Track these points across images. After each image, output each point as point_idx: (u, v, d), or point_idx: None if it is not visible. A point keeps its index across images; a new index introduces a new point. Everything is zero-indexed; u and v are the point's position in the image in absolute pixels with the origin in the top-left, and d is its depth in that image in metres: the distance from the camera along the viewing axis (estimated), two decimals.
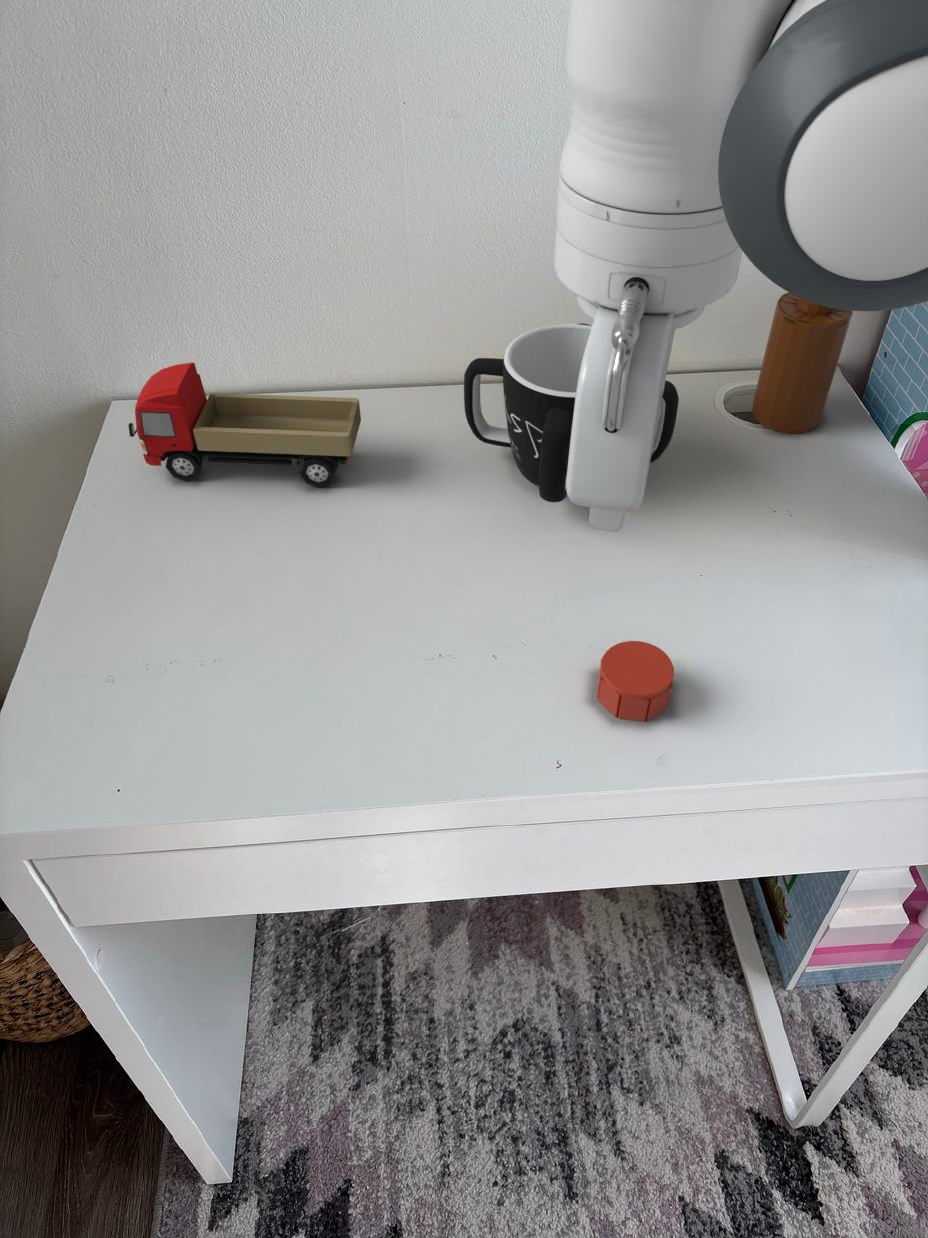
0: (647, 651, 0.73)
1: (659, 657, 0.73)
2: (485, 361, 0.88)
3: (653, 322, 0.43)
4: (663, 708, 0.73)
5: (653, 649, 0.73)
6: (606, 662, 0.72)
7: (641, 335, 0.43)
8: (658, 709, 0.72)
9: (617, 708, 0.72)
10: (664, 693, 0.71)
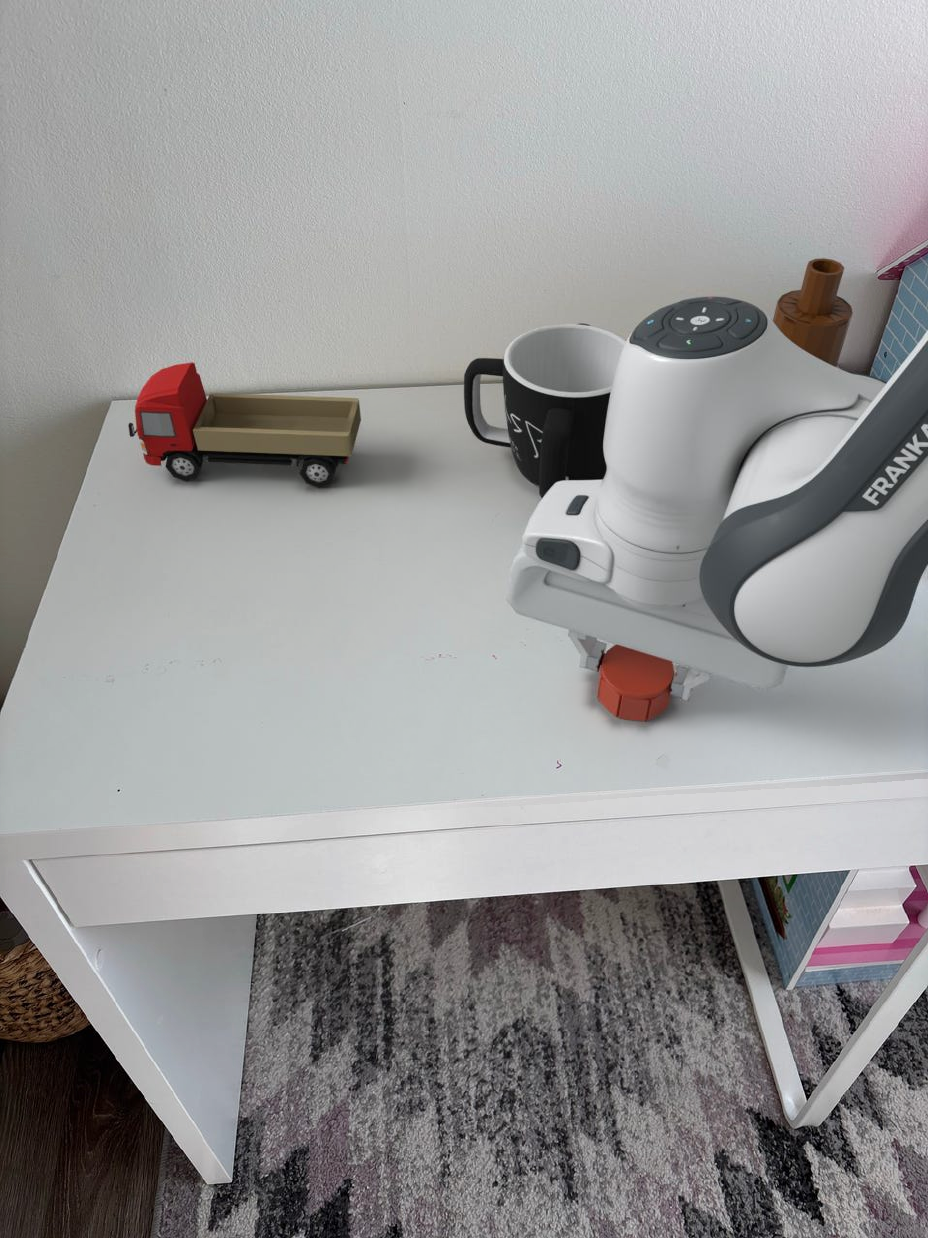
0: None
1: None
2: (485, 361, 0.88)
3: None
4: (663, 708, 0.73)
5: None
6: (606, 662, 0.72)
7: None
8: (658, 709, 0.72)
9: (617, 708, 0.72)
10: (664, 693, 0.71)
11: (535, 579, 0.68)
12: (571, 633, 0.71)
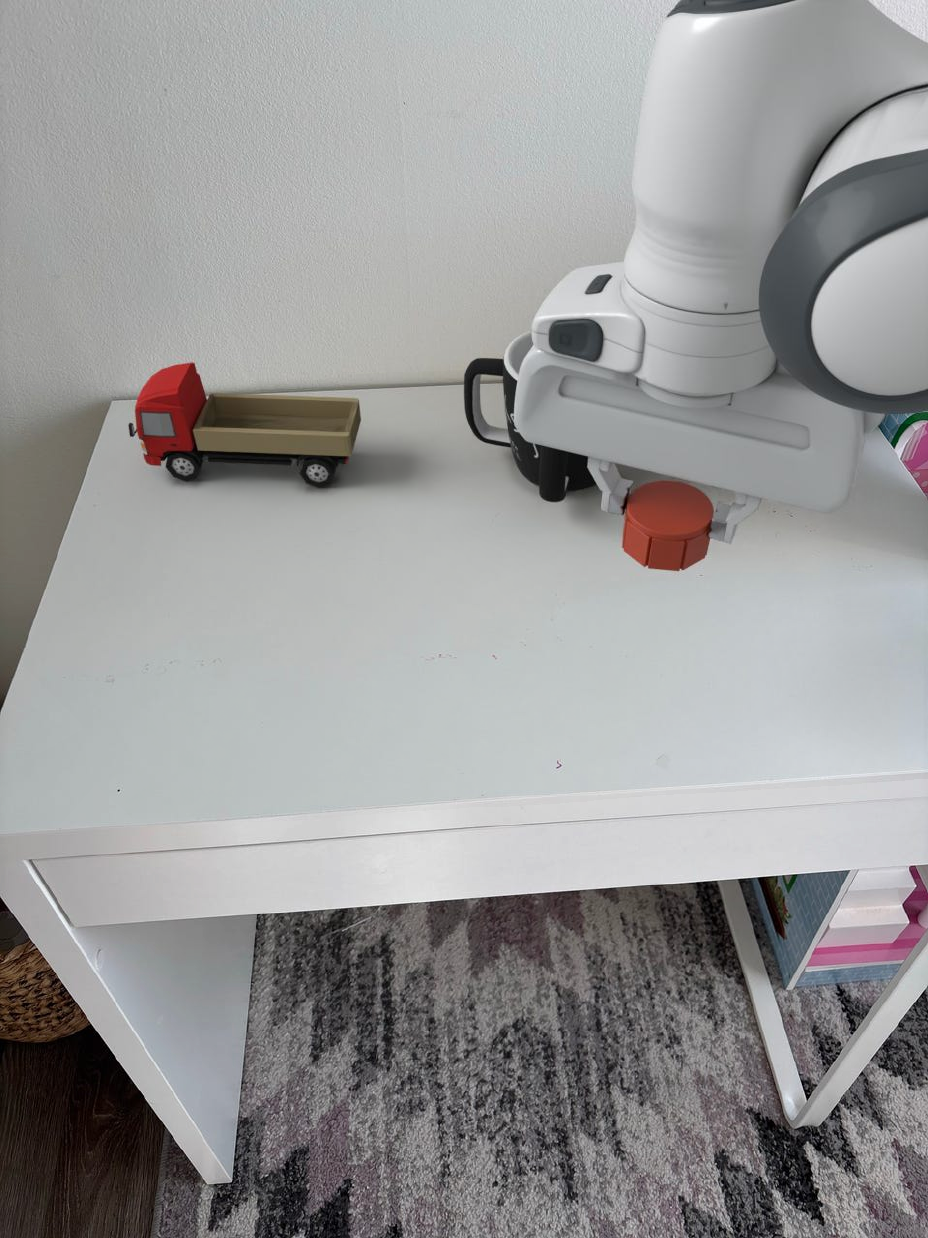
0: (681, 490, 0.62)
1: (696, 496, 0.61)
2: (485, 361, 0.88)
3: None
4: (701, 556, 0.61)
5: (688, 488, 0.62)
6: (633, 502, 0.61)
7: None
8: (695, 556, 0.61)
9: (647, 555, 0.61)
10: (703, 535, 0.60)
11: (547, 388, 0.56)
12: (590, 464, 0.60)
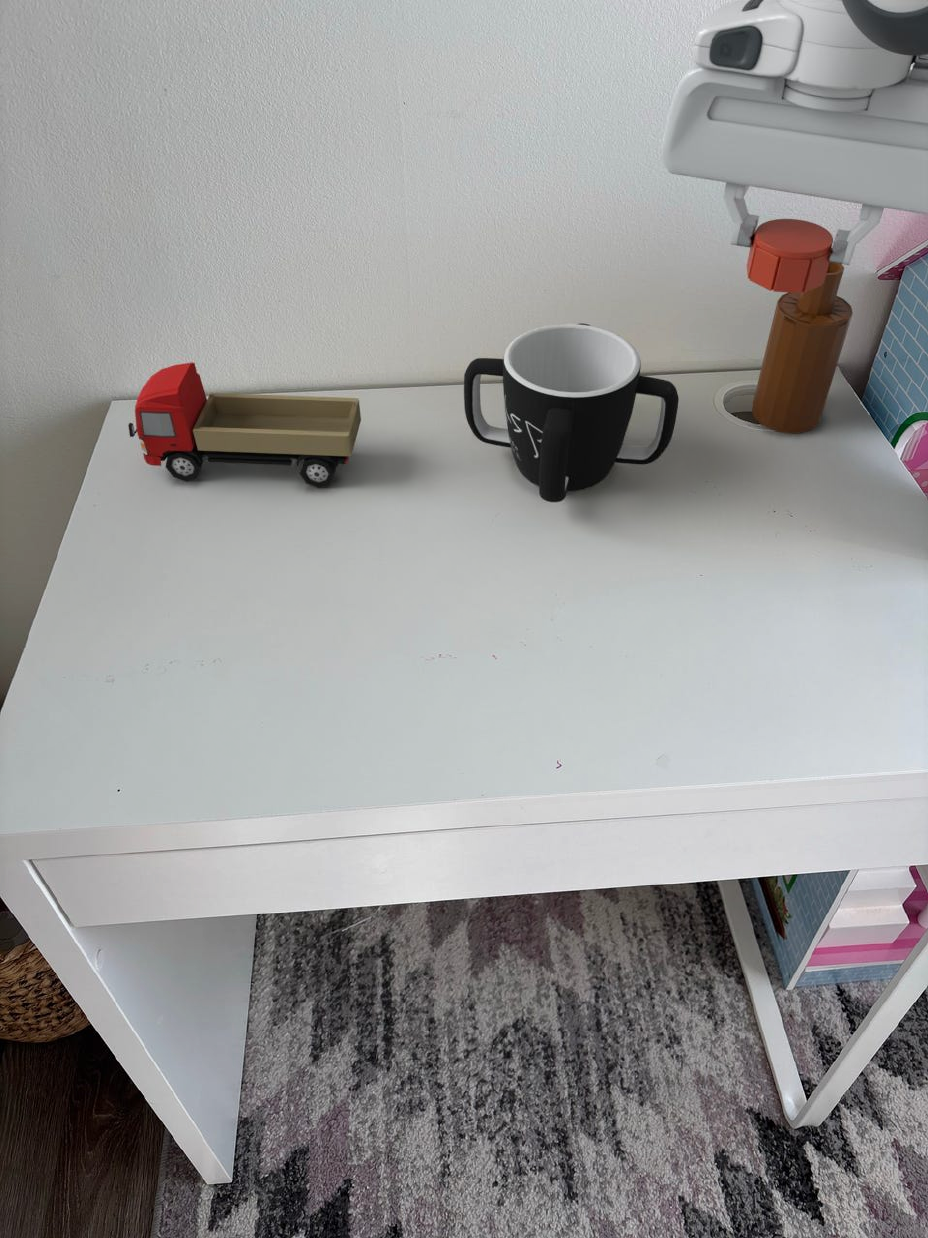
0: (802, 225, 0.70)
1: (815, 228, 0.69)
2: (485, 361, 0.88)
3: None
4: (820, 282, 0.69)
5: (807, 223, 0.70)
6: (761, 232, 0.69)
7: None
8: (816, 280, 0.69)
9: (774, 277, 0.69)
10: (824, 256, 0.68)
11: (698, 112, 0.64)
12: (727, 193, 0.68)
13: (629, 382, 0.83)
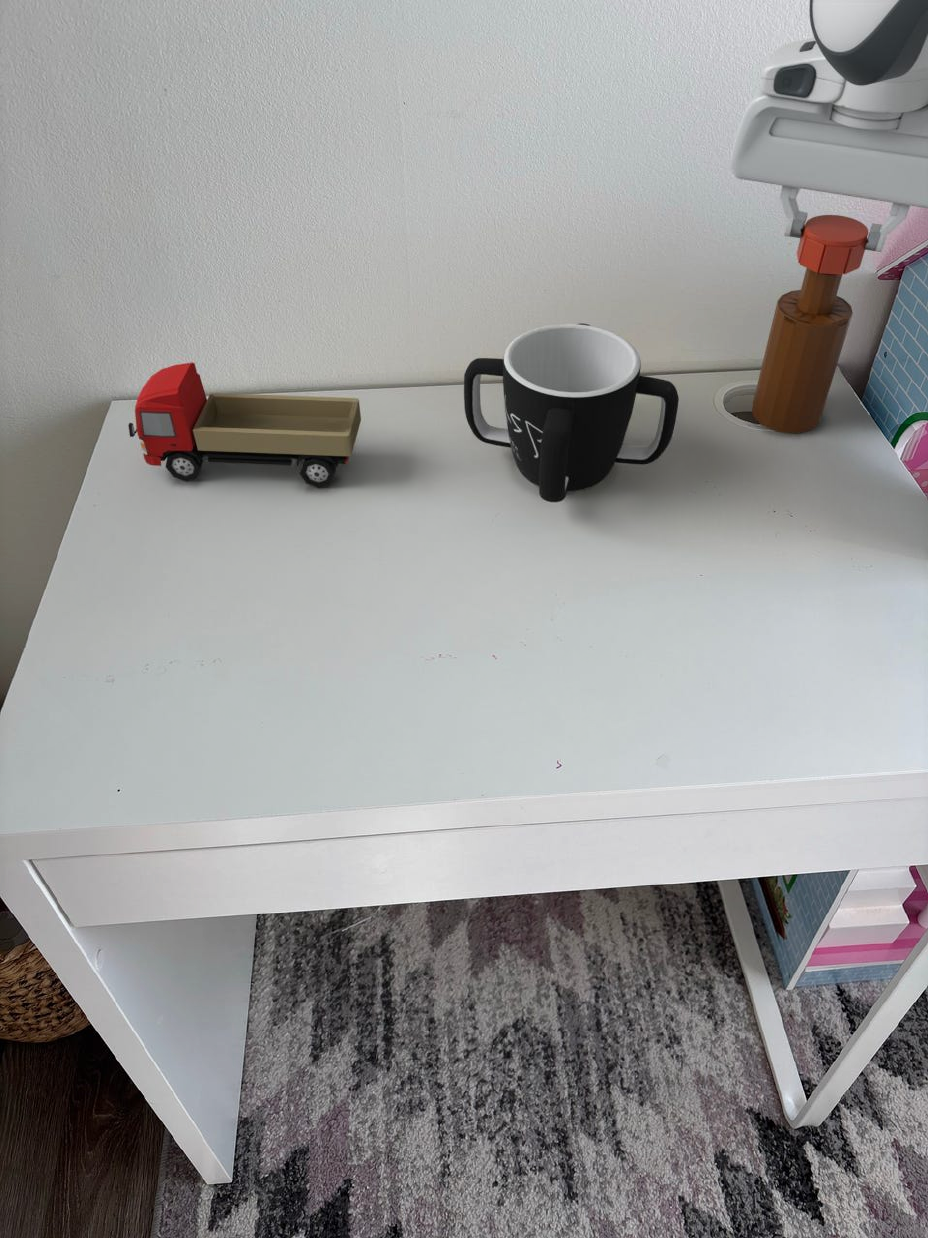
0: (842, 219, 0.86)
1: (853, 222, 0.86)
2: (485, 361, 0.88)
3: None
4: (857, 265, 0.86)
5: (847, 218, 0.86)
6: (809, 225, 0.86)
7: None
8: (854, 264, 0.85)
9: (820, 261, 0.85)
10: (861, 245, 0.84)
11: (762, 129, 0.81)
12: (782, 194, 0.84)
13: (629, 382, 0.83)
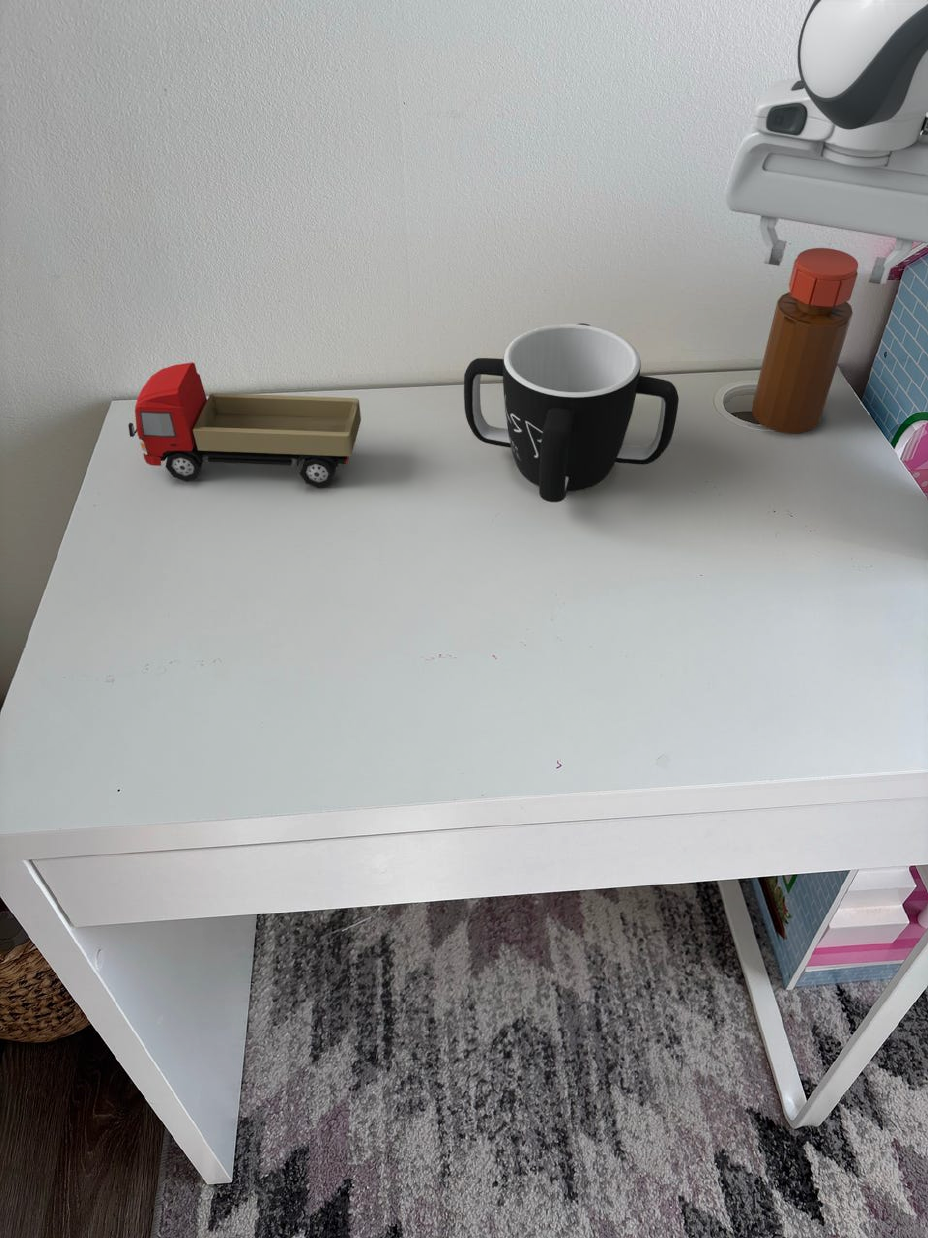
0: (833, 253, 0.89)
1: (844, 256, 0.88)
2: (485, 361, 0.88)
3: None
4: (847, 298, 0.88)
5: (837, 252, 0.89)
6: (801, 258, 0.88)
7: None
8: (844, 296, 0.88)
9: (811, 294, 0.87)
10: (851, 278, 0.87)
11: (755, 164, 0.83)
12: (761, 223, 0.87)
13: (629, 382, 0.83)
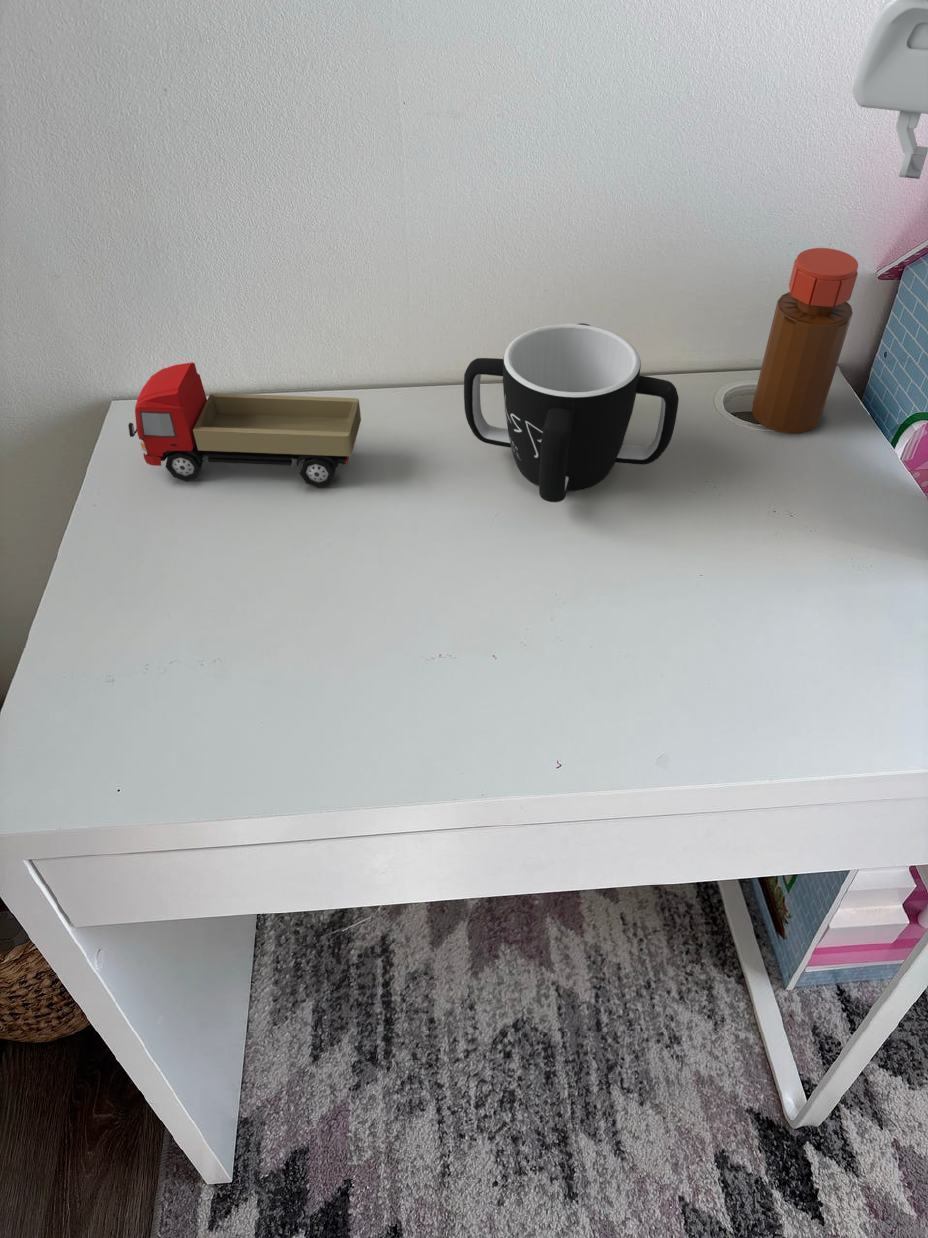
0: (833, 253, 0.89)
1: (844, 256, 0.88)
2: (485, 361, 0.88)
3: None
4: (847, 298, 0.88)
5: (837, 252, 0.89)
6: (801, 258, 0.88)
7: None
8: (844, 296, 0.88)
9: (811, 294, 0.87)
10: (851, 278, 0.87)
11: (897, 40, 0.64)
12: (899, 123, 0.68)
13: (629, 382, 0.83)
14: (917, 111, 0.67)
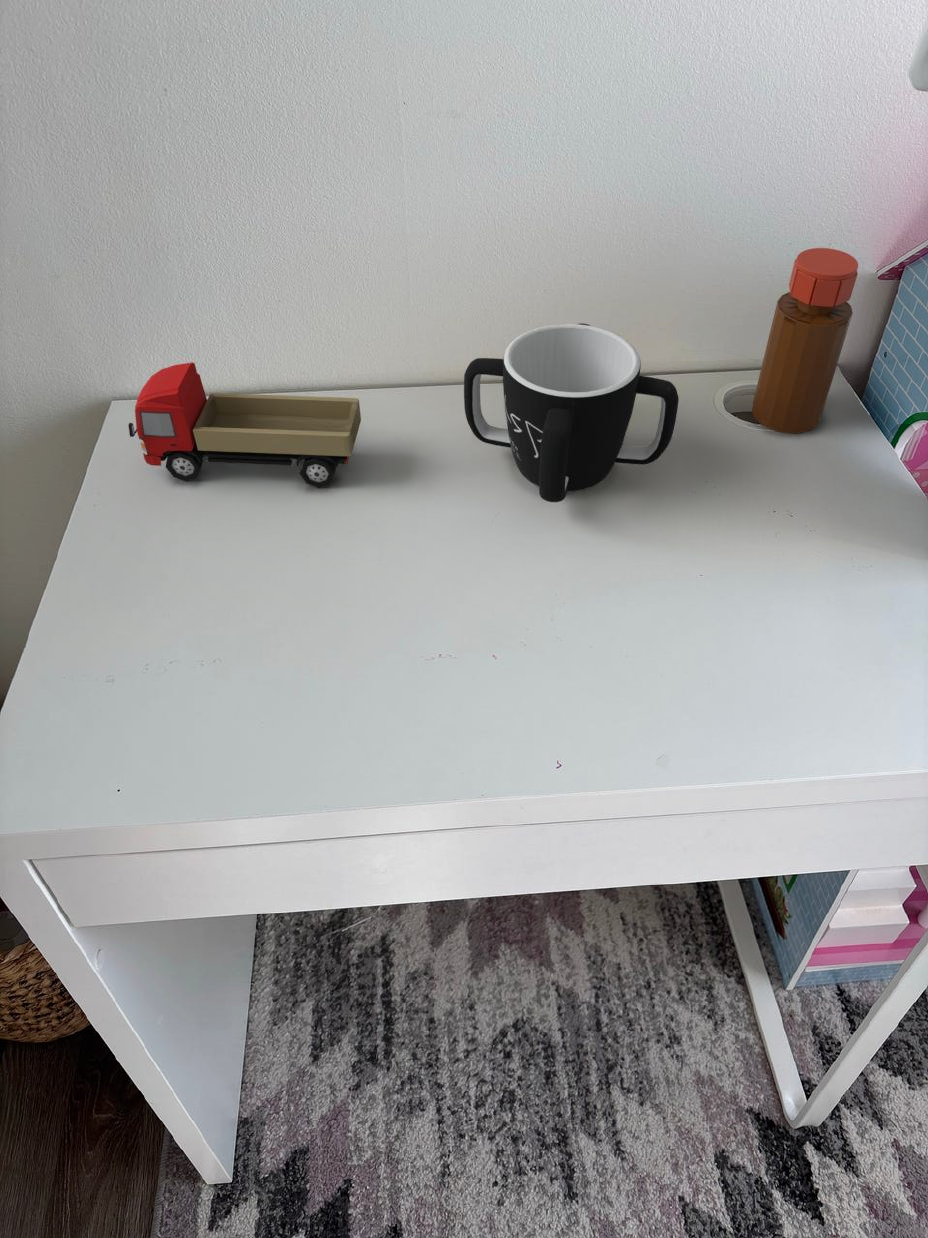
0: (833, 253, 0.89)
1: (844, 256, 0.88)
2: (485, 361, 0.88)
3: None
4: (847, 298, 0.88)
5: (837, 252, 0.89)
6: (801, 258, 0.88)
7: None
8: (844, 296, 0.88)
9: (811, 294, 0.87)
10: (851, 278, 0.87)
11: None
12: None
13: (629, 382, 0.83)
14: None
